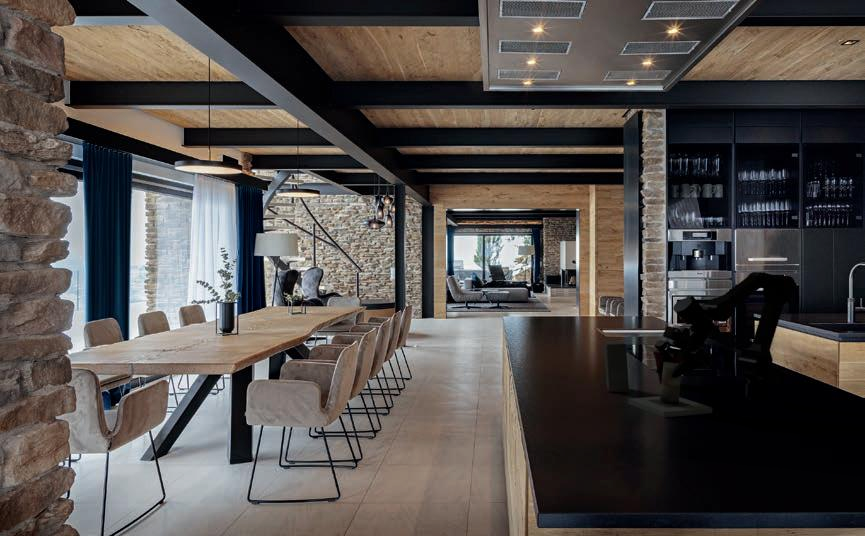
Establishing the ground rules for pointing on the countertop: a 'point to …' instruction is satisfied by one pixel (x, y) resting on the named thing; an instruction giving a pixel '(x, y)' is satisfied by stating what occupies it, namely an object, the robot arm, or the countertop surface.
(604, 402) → the countertop surface
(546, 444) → the countertop surface
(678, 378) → the ash sleeve
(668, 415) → the sage board
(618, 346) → the skincare box
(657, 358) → the plastic cup
